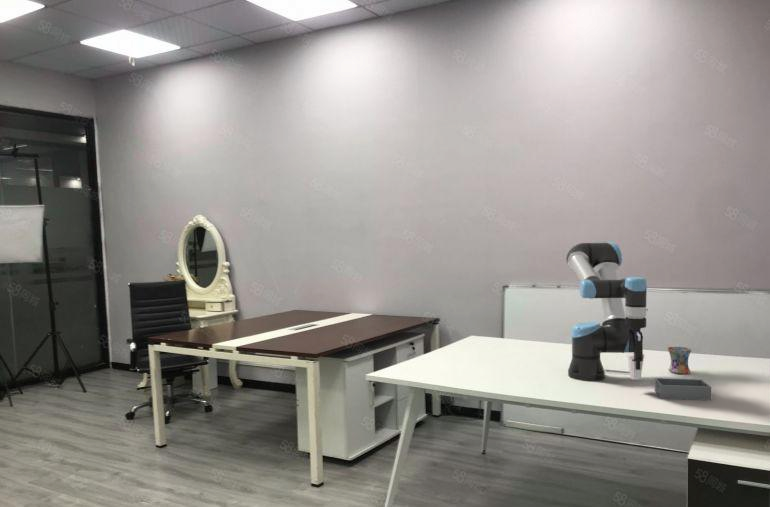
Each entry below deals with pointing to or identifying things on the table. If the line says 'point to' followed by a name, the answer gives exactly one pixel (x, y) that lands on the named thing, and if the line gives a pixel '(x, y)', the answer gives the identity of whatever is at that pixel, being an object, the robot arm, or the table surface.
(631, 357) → the smoothie
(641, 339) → the robot arm
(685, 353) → the mug
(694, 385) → the tray
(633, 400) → the table surface
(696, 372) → the table surface
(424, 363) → the table surface
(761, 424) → the table surface
